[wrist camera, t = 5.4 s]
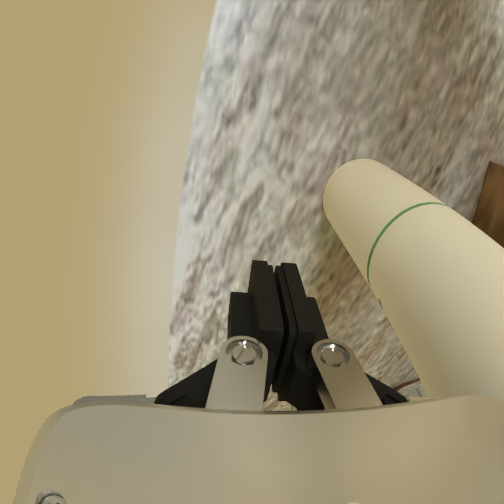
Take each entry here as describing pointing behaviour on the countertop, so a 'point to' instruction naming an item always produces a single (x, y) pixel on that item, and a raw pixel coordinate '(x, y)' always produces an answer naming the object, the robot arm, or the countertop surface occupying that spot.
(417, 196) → the cylindrical container
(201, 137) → the countertop surface
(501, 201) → the U-rest
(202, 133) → the countertop surface
